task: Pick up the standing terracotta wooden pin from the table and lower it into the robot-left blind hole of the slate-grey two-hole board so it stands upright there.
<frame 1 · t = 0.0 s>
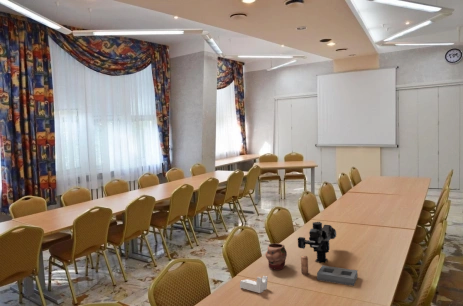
hand: (309, 248, 204), 17 cm above the table, tool horizontal, fingers open, 9 cm apart
bracket: (254, 288, 194), on the table
pin: (304, 273, 209), on the table
hole board: (337, 278, 200), on the table
decorative planter: (277, 266, 222), on the table
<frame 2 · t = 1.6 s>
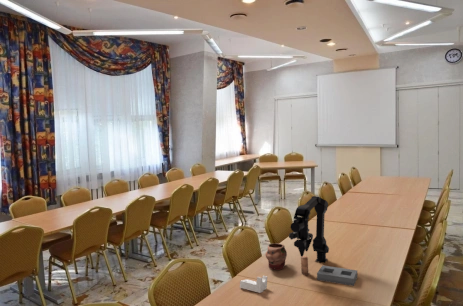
hand: (304, 253, 209), 12 cm above the table, tool pointing down, fingers open, 9 cm apart
nothing on the table moved.
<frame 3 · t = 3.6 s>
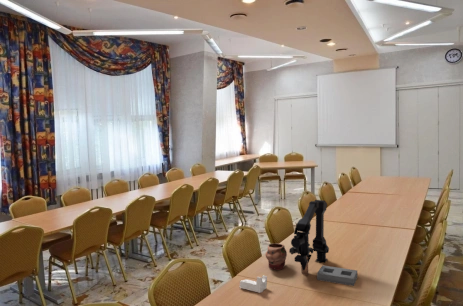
hand: (304, 268, 209), 3 cm above the table, tool pointing down, fingers closed on pin, 4 cm apart
pin: (304, 273, 209), on the table, touching gripper
everything else where it was.
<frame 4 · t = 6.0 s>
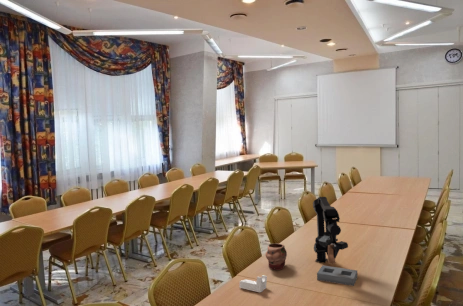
hand: (331, 257, 200), 12 cm above the table, tool pointing down, fingers closed on pin, 4 cm apart
pin: (331, 262, 201), point 9 cm above the table, touching gripper
everything else where it was.
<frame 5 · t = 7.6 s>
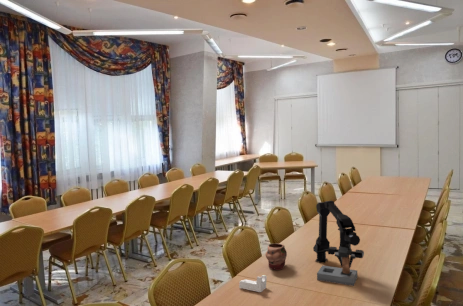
hand: (346, 267, 197), 8 cm above the table, tool pointing down, fingers closed on pin, 4 cm apart
pin: (346, 272, 198), point 4 cm above the table, touching gripper
everything else where it was.
when the fingers open (5 cm above the table, at t = 8.8 s): pin stays where it is, resting on hole board.
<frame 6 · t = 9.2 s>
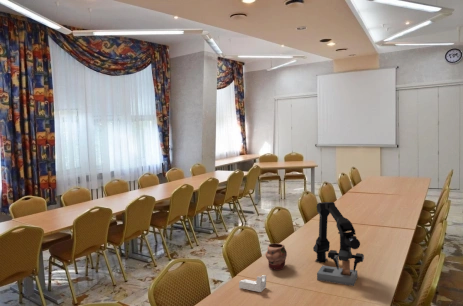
hand: (346, 270, 197), 5 cm above the table, tool pointing down, fingers open, 8 cm apart
pin: (346, 277, 198), point 2 cm above the table, touching hole board
everything else where it was.
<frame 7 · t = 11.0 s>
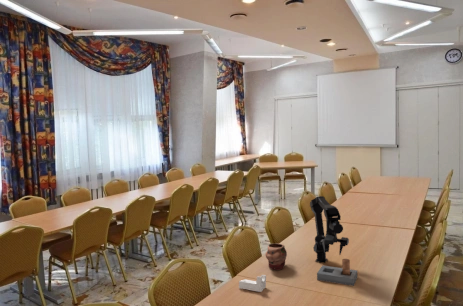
hand: (332, 253, 208), 11 cm above the table, tool pointing down, fingers open, 9 cm apart
nothing on the table moved.
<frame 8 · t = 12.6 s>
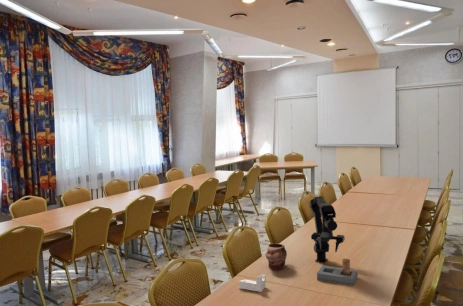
hand: (328, 251, 211), 12 cm above the table, tool pointing down, fingers open, 9 cm apart
at the end: pin 0.1 cm from the target spot on the hole board, point 1.5 cm above the hole board's base; pin tilted 1°; the gripper is holding nothing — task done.
